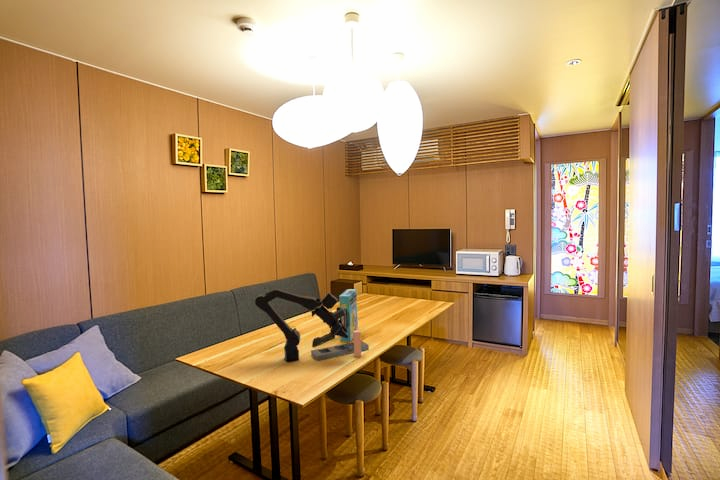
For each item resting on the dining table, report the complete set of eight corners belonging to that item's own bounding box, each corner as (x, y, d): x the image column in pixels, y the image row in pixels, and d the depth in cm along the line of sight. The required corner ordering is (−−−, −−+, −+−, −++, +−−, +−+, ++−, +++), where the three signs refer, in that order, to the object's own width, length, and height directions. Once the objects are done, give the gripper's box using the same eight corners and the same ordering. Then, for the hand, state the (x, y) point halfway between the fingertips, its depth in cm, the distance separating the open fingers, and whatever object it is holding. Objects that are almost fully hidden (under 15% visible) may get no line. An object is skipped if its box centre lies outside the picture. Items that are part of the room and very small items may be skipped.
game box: (351, 341, 221) (349, 296, 219) (340, 341, 222) (338, 296, 220) (358, 331, 241) (356, 289, 239) (348, 330, 242) (347, 288, 240)
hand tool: (330, 337, 231) (330, 330, 230) (335, 338, 228) (335, 330, 228) (309, 347, 215) (308, 339, 215) (314, 348, 213) (313, 340, 213)
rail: (317, 360, 194) (316, 355, 194) (311, 355, 202) (311, 350, 202) (368, 349, 207) (368, 345, 207) (361, 344, 215) (361, 340, 215)
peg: (354, 356, 197) (353, 332, 196) (354, 354, 201) (353, 330, 200) (361, 356, 198) (360, 332, 197) (360, 354, 201) (359, 330, 200)
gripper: (336, 308, 187) (359, 328, 189) (335, 299, 206) (356, 318, 207) (320, 324, 187) (344, 345, 189) (321, 314, 206) (342, 333, 207)
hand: (347, 334), depth 198 cm, fingers open, 9 cm apart
